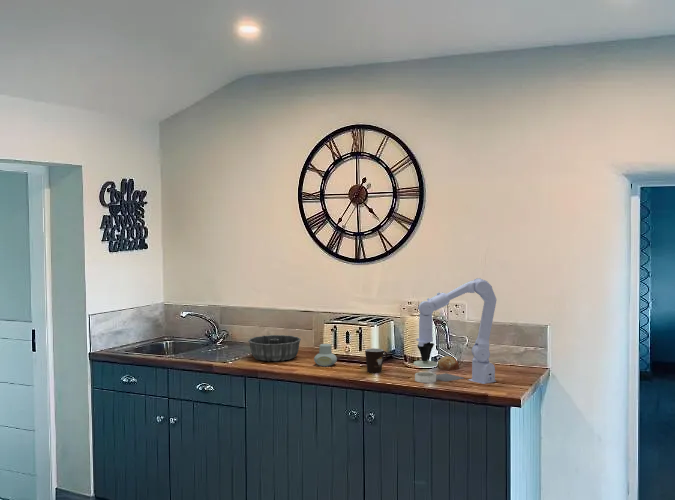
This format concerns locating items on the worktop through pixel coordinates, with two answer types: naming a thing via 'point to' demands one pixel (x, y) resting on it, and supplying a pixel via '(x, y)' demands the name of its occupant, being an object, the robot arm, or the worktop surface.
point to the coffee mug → (374, 360)
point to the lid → (425, 363)
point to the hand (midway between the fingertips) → (425, 360)
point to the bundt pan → (274, 347)
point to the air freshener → (325, 356)
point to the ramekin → (425, 377)
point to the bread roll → (448, 363)
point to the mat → (447, 377)
